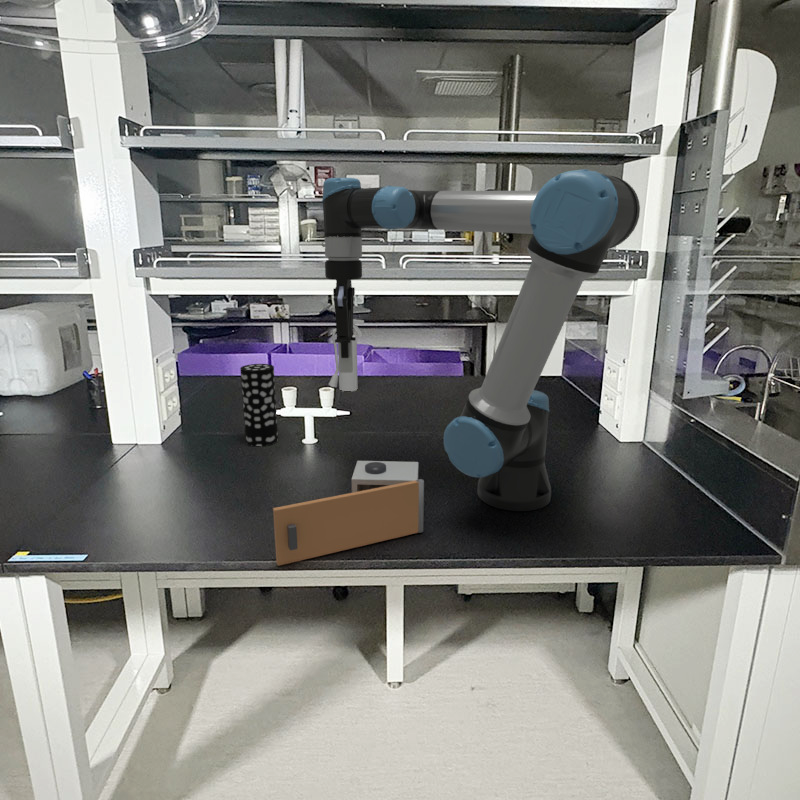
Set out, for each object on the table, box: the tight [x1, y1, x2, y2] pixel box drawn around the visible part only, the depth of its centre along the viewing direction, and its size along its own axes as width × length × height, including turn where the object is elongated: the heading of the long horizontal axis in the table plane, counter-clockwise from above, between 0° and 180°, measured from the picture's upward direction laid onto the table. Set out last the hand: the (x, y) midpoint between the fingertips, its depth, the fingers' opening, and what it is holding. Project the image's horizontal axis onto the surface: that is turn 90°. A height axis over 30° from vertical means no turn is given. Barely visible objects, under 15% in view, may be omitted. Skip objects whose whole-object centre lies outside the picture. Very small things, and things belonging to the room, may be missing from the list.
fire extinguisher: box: [327, 318, 365, 392], centre depth 203 cm, size 7×12×25 cm, turn 87°
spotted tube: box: [239, 363, 279, 447], centre depth 153 cm, size 8×8×20 cm
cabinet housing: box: [351, 460, 419, 493], centre depth 112 cm, size 12×9×11 cm
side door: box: [272, 478, 425, 566], centre depth 101 cm, size 27×2×10 cm, turn 115°
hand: (346, 371), depth 126 cm, fingers closed
